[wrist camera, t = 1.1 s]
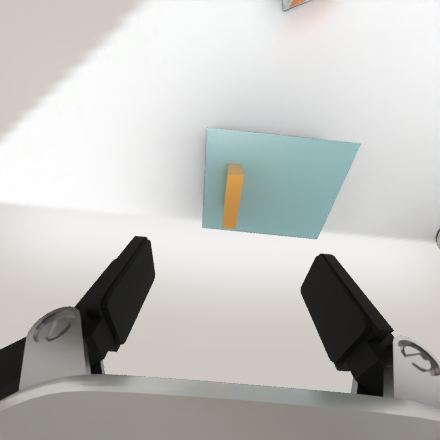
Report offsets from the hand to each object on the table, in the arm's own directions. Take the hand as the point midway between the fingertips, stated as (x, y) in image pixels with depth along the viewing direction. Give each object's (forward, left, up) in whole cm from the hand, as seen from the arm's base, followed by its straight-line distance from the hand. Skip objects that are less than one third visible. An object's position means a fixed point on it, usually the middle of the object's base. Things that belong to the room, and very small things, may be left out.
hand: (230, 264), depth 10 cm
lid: (-5, -2, -15) cm, 16 cm away
